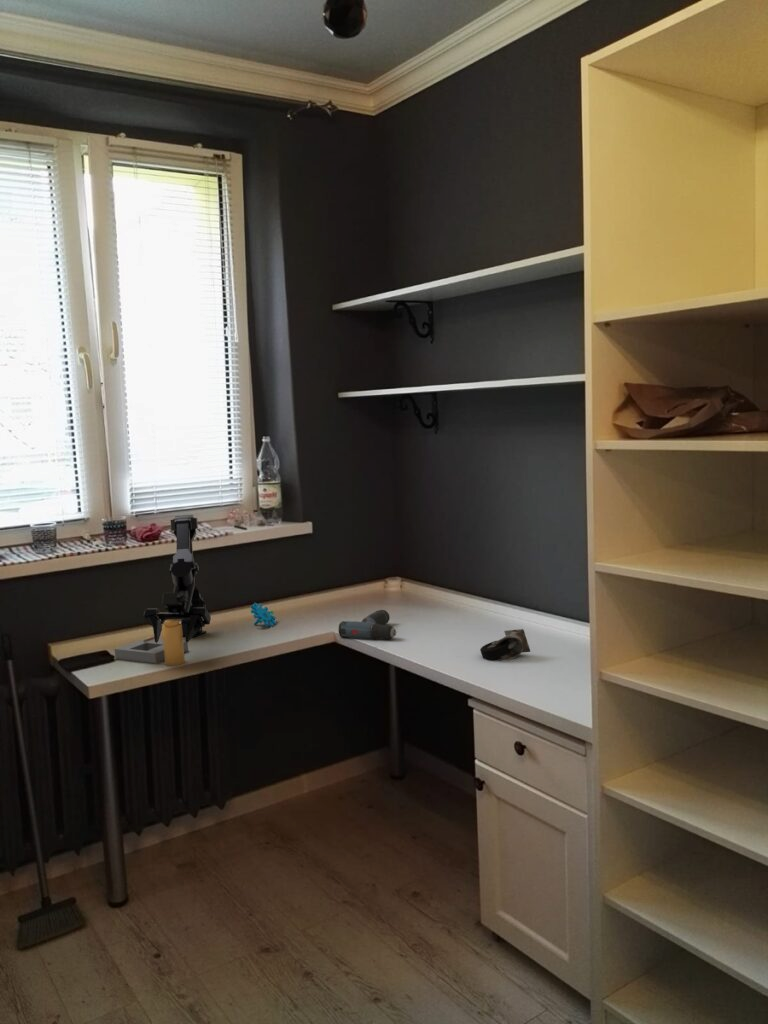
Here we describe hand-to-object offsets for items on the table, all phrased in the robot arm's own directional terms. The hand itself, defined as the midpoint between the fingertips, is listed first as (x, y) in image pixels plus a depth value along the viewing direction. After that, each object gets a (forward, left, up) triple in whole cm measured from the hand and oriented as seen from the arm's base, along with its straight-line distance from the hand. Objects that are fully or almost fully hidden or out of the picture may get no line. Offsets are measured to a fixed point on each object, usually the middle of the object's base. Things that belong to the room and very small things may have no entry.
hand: (171, 641), depth 249 cm
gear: (-46, -1, -7) cm, 46 cm away
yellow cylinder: (-1, 0, -7) cm, 7 cm away
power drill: (-49, +41, -7) cm, 64 cm away
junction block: (-6, -13, -7) cm, 16 cm away
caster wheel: (-35, +87, -7) cm, 94 cm away
